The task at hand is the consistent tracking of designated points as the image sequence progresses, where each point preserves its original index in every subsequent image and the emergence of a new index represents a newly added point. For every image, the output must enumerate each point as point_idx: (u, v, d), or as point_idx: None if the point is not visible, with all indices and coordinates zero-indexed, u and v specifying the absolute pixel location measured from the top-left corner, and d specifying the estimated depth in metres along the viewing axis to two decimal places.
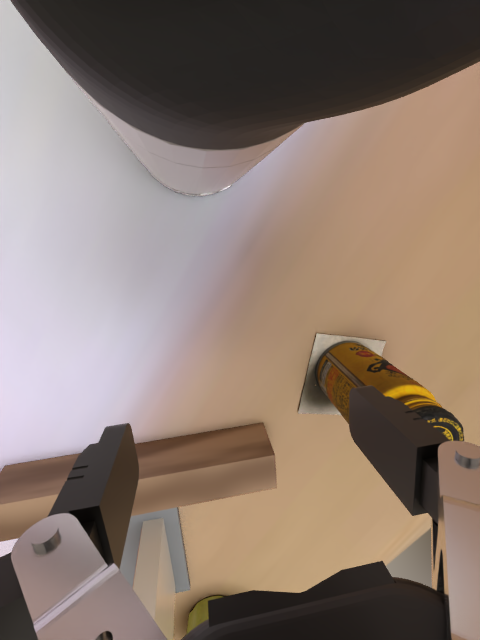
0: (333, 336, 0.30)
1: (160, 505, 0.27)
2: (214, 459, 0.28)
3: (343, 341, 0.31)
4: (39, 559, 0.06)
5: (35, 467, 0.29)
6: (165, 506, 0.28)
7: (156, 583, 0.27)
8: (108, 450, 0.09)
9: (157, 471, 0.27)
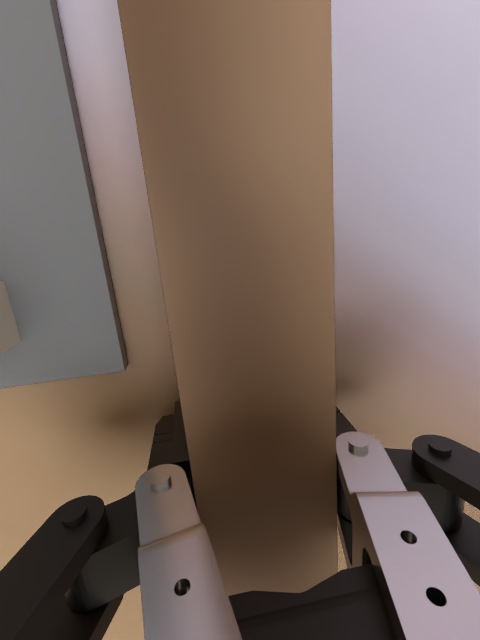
0: None
1: (205, 403, 0.07)
2: None
3: None
4: (162, 496, 0.07)
5: None
6: (200, 421, 0.07)
7: None
8: None
9: None
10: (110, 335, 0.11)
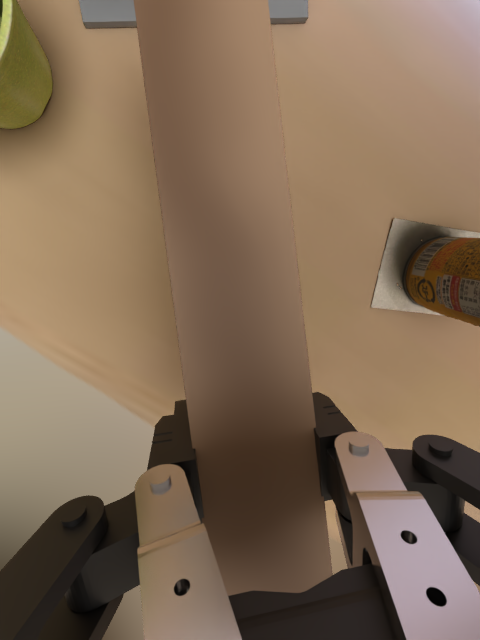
0: None
1: (201, 368, 0.09)
2: None
3: None
4: (162, 496, 0.07)
5: None
6: (197, 384, 0.09)
7: None
8: (185, 419, 0.10)
9: None
10: None
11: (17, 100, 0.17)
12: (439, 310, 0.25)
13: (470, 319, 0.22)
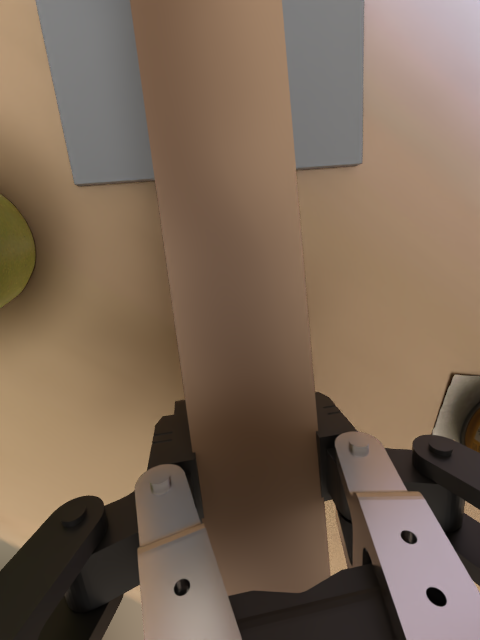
0: None
1: (202, 373, 0.09)
2: None
3: None
4: (162, 496, 0.07)
5: None
6: (197, 390, 0.09)
7: None
8: (186, 419, 0.10)
9: None
10: (358, 134, 0.16)
11: None
12: None
13: None
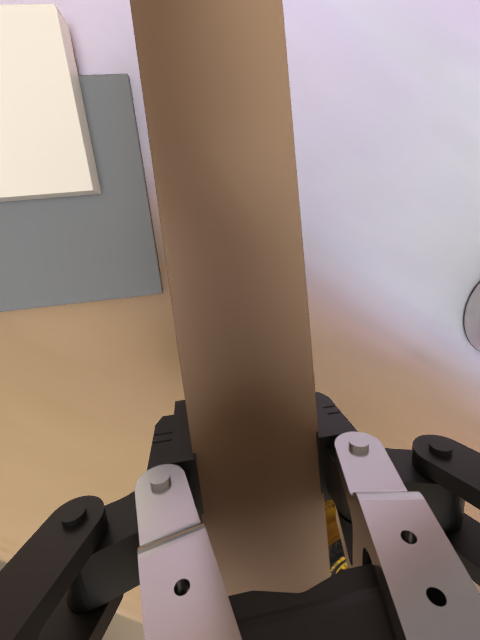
0: None
1: (202, 373, 0.09)
2: None
3: None
4: (162, 496, 0.07)
5: None
6: (197, 389, 0.09)
7: (70, 79, 0.20)
8: (185, 419, 0.10)
9: None
10: (156, 277, 0.25)
11: None
12: None
13: None
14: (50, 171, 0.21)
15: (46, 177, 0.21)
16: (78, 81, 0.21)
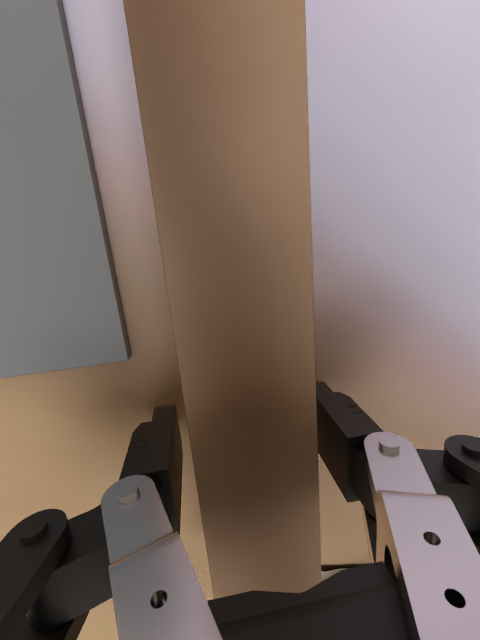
0: None
1: (203, 386, 0.08)
2: None
3: None
4: (128, 509, 0.07)
5: None
6: (198, 401, 0.09)
7: None
8: (163, 426, 0.10)
9: None
10: (115, 327, 0.12)
11: None
12: None
13: None
14: None
15: None
16: None
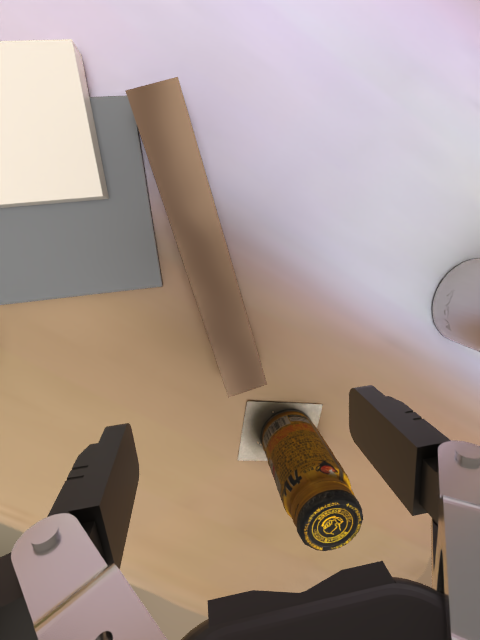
0: (318, 418, 0.36)
1: (198, 285, 0.25)
2: None
3: None
4: (39, 559, 0.06)
5: None
6: (197, 291, 0.26)
7: (84, 102, 0.23)
8: (108, 450, 0.09)
9: None
10: (157, 271, 0.29)
11: None
12: None
13: None
14: (66, 180, 0.24)
15: (62, 185, 0.24)
16: (89, 102, 0.24)
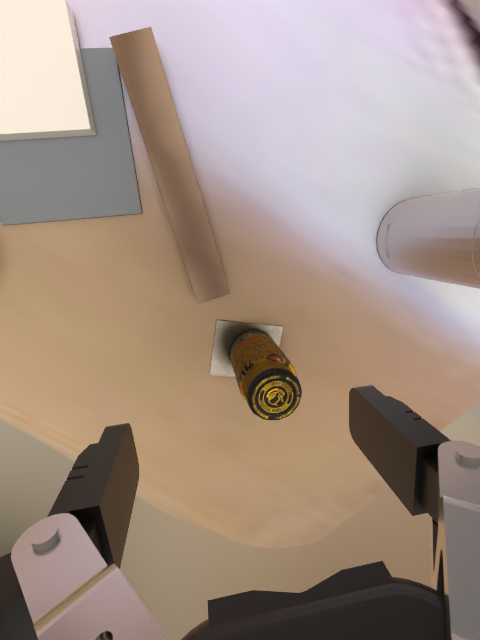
0: (279, 339, 0.41)
1: (170, 203, 0.31)
2: None
3: None
4: (39, 559, 0.06)
5: None
6: (170, 208, 0.31)
7: (75, 49, 0.29)
8: (108, 450, 0.09)
9: None
10: (137, 200, 0.34)
11: None
12: None
13: None
14: (60, 114, 0.30)
15: (57, 118, 0.30)
16: None
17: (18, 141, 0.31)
